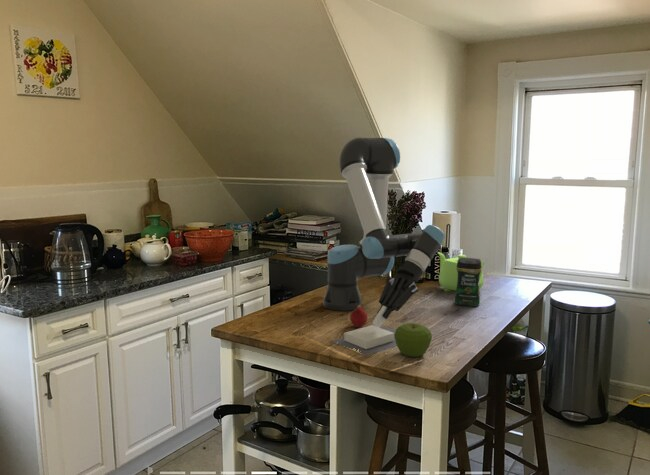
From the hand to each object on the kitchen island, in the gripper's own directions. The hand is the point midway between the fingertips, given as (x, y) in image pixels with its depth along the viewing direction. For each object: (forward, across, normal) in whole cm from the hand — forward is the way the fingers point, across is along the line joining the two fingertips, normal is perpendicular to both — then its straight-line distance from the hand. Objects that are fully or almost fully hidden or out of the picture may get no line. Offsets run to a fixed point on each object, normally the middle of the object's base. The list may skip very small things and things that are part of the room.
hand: (376, 325), depth 172 cm
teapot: (-48, +25, -57) cm, 79 cm away
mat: (+4, 0, -4) cm, 5 cm away
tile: (0, 0, -4) cm, 5 cm away
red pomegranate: (+1, +13, -7) cm, 15 cm away
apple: (+4, -16, -4) cm, 17 cm away
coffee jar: (-36, +9, -45) cm, 59 cm away
